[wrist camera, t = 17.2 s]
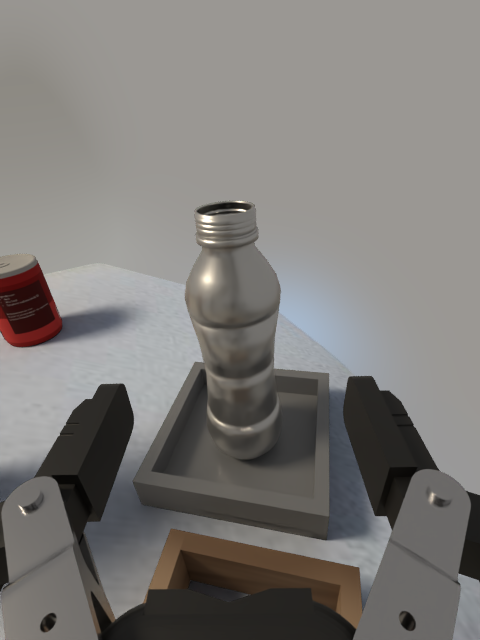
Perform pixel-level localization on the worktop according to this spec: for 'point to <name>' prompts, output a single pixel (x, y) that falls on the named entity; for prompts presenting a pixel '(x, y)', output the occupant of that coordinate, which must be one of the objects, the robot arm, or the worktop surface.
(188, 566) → the open wooden box
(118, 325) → the worktop surface
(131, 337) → the worktop surface
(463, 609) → the worktop surface
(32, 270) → the canned food
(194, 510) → the tray
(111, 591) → the worktop surface
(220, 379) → the plastic bottle
